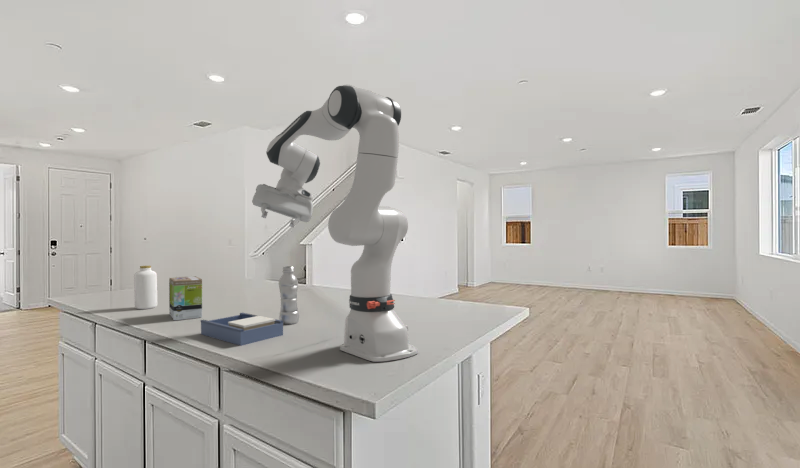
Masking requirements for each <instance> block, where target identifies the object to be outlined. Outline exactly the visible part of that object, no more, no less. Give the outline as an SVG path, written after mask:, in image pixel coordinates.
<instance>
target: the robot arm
mask: <svg viewBox="0 0 800 468" xmlns="http://www.w3.org/2000/svg"><path fill="white" fill-rule="evenodd" d="M401 119H402V109H401V106H400V105H399V103H398V102H397V101H396V100H394V99H392V98H390V97H388V96H384V95H381V94H380V93H376V92H373V91H372V90H369V89H365V88H358V87H356V86H354V85H352V84H342V85H338V86H336V87H335V88H334V89H333V90H332V91H331V93H330V95H329V97H328V98H327V99H326V101H325V102H324V103H323V105H322V106H321V107H319V108H317V109H315V110H306V111H304V112H303V113H301V114H300V115H298V116H297V118H295V119H294V120H293V121H292V122H291V123H290V124H289V125H288V126H287V127H286V128H285V129H284V130H283V131H282V132H280V134H278V135H276V136H275V137H274V138H272V140H271V141H270V142H269V144H268V146H267V149H266V151H265V152H266V157H267V159H268V161H269V162H270V163H272V164H274V165H277V166H279V167H281V168H283V169H282V171H281V173H280V179H278V181H277V184H276V187H274V186H270V185H267V184H266V183H261V184H258V185H257V186H256V188H255V192H254V195H253V197H252V200H251V202H252V205H253V206H254V207H257V208H258V207H259V208H260V211H261V213H262V214H261V218H263V219H267V216H268V214H269V211H271V212H274V213H275V214H276V213H277V214H279V215H282V216H285V217H288V218H292V219H291V220H290V223H289V227H291V228H295V227H294V226H295V225H296V224H298V223H299V221H300V222H304V223H309V222H310V221H311V219H312V215H313V212H314V211H313V210H314V202H313V199H314V195H313V193H311V192H309V191H308V190H306V188H304V187H303V186H304V184H308V183H310V182H312V181H314V179H315V178H316V176H317V174H318V172H319V169H320V167H321V166H320V165H321V162H320V161H321V160H320V158H319V156H318V154H316V153H314V152H312V151H310V150H309V149H307V148H305V147H303V146H301V145H299V144H298V143H296V142H294V141H296V140H297V138H299V137H300V136H303V135H304V136H312V137H315V138H319V139H322V140H325V141H338V140H341V139H342V138H344V137H345V136H346V135H347V134H349V133H350V131H351V130H352V129H355V130H356V131H357V132H358V135H359V140H358V145H357V147H358V148H357V156H356V162H355V163H356V165H355V171H354V178H353V183H352V185H351V188H350V190H349V192H348V194H347V195H346V197H345V199H344V200H343V201H342V203H340V204H339V205H338V206H337V208H335V209H334V210H333V211H332V212H331V214H330V215H329V217H328V222H327V227H328V228H327V229H328V233H329V235H330V237H331V238H332V240H333V241H334V242H335V243H337V244H342V245H346V246H351V247H356V246H363V250H362V253H361V255H360V257H359V258H358V260H357V259H356V261H355V262H354V263H353V264H352V266H351V269H350V295H349V299H348V303H349V305H348V306H349V309H350V311H349V313H348V315H347V316H346V317H345V322H344V336H343V337H344V339H343V341H344V342H343V343H342V344H340V345H339V351H342V352H345V353H347V354H350V355H352V356H356V357H359V358H361V359H363V360H366V361H370V362H376V363H377V362H389V361H390V362H391V361H396V360H401V359H404V358H409V357H412V356H415V355H417V354H418V353H419V349H418V348H417V347H416V346H415V345H413V344H411V343H410V341H409V339H410V338H409V326H408V324H406V323H405V324H404V322H403V320H402V319H401V318H400V316H399V315H398V314H397V312H396V311H395V305H396V303H395V301H396V300H395V299H394V298H393V294H392V293H391V276H392V275H391V272H392V263H393V259H394V256H395V252H396V250H397V248H398V246H399V245H400V243H401V242H402V240H403V239H404V238H405V237H406V234H408V230H409V222H408V218H407V216H406V214H405V213H404V212H402V211H401V210H399V209H396V208H393V207H390V206H383V205H382V206H381V205H380V204H381V201H382V200H383V198H384V197H385V196H386V194H387V193H388V192H390V191H391V190H392V189H393V188H394V186H395V183H396V175H397V168H398V160H399V149H400V148H399V147H400V145H399V143H400V142H399V140H400V137H399V135H400V134H399V125H400V122H401ZM293 219H294V220H293Z"/></svg>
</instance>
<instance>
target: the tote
mask: <svg viewBox="0 0 800 468" xmlns="http://www.w3.org/2000/svg"><path fill="white" fill-rule="evenodd" d="M255 316H258V315H256V314H251V313H246V312H240V313H239V314H238V315H233V316H227V317H220V318H216V319H209V320H207V319H200V334H201V335H203V336H206V337H210V338H213V339H216V340H219V341H223V342H226V343H231V344H233V345H236V346H241V347H242V346H246V345H249V344H255V343H258V342H261V341H265V340H269V339H270V340H271V339H274V338H277V337H278V338H279V337H281V336H284V324H283V321H282V320H280V319H276V318H274V319H275V321H274V324H272V325H268V326H263V327H259V328H254V329H250V330H245V331H244V329H240V328H236V327H232V326H229V324H228V322H230V321H235V320H240V319H245V318H250V317H255Z"/></svg>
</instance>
